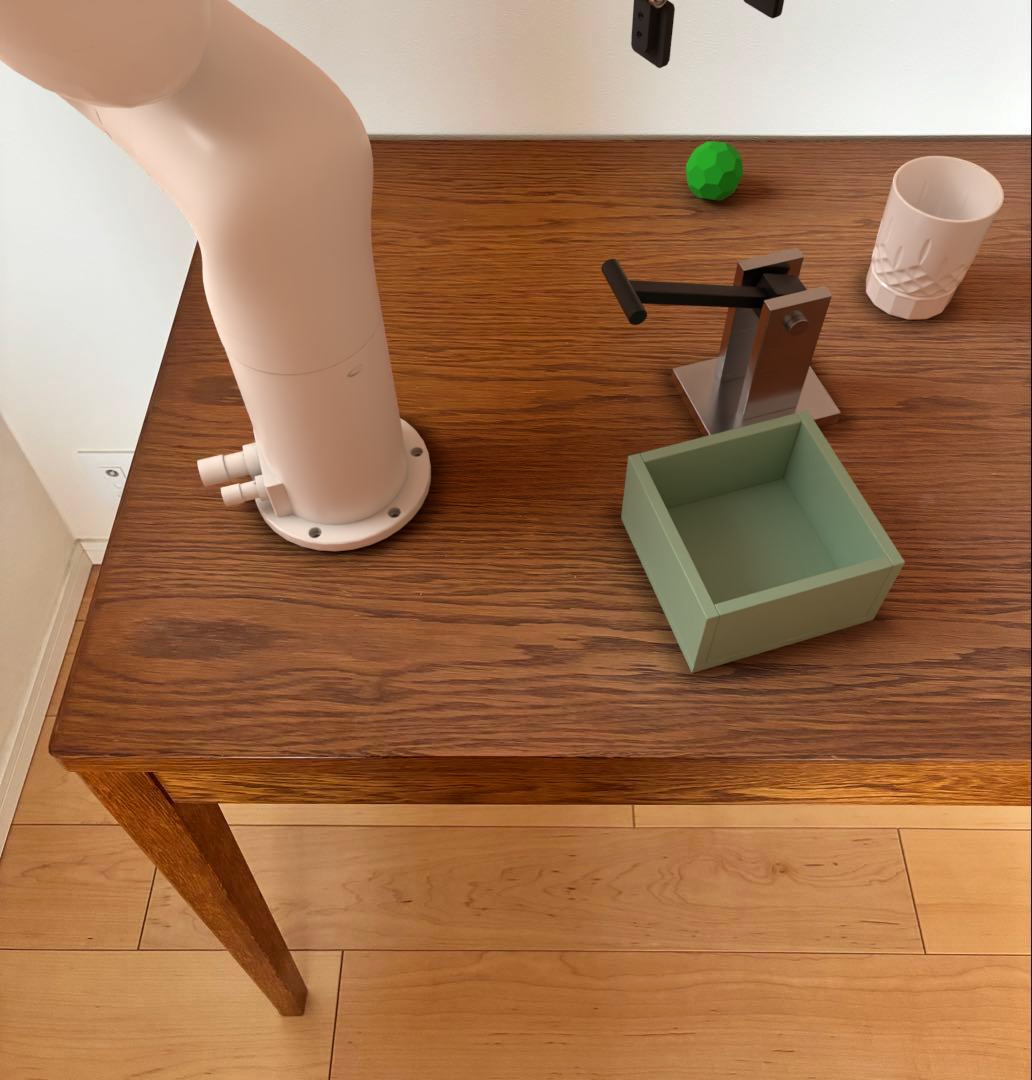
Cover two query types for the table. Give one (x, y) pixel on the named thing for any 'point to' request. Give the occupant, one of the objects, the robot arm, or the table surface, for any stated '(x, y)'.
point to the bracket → (762, 357)
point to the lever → (693, 292)
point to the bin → (755, 539)
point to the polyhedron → (714, 170)
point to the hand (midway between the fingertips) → (706, 33)
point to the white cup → (930, 234)
